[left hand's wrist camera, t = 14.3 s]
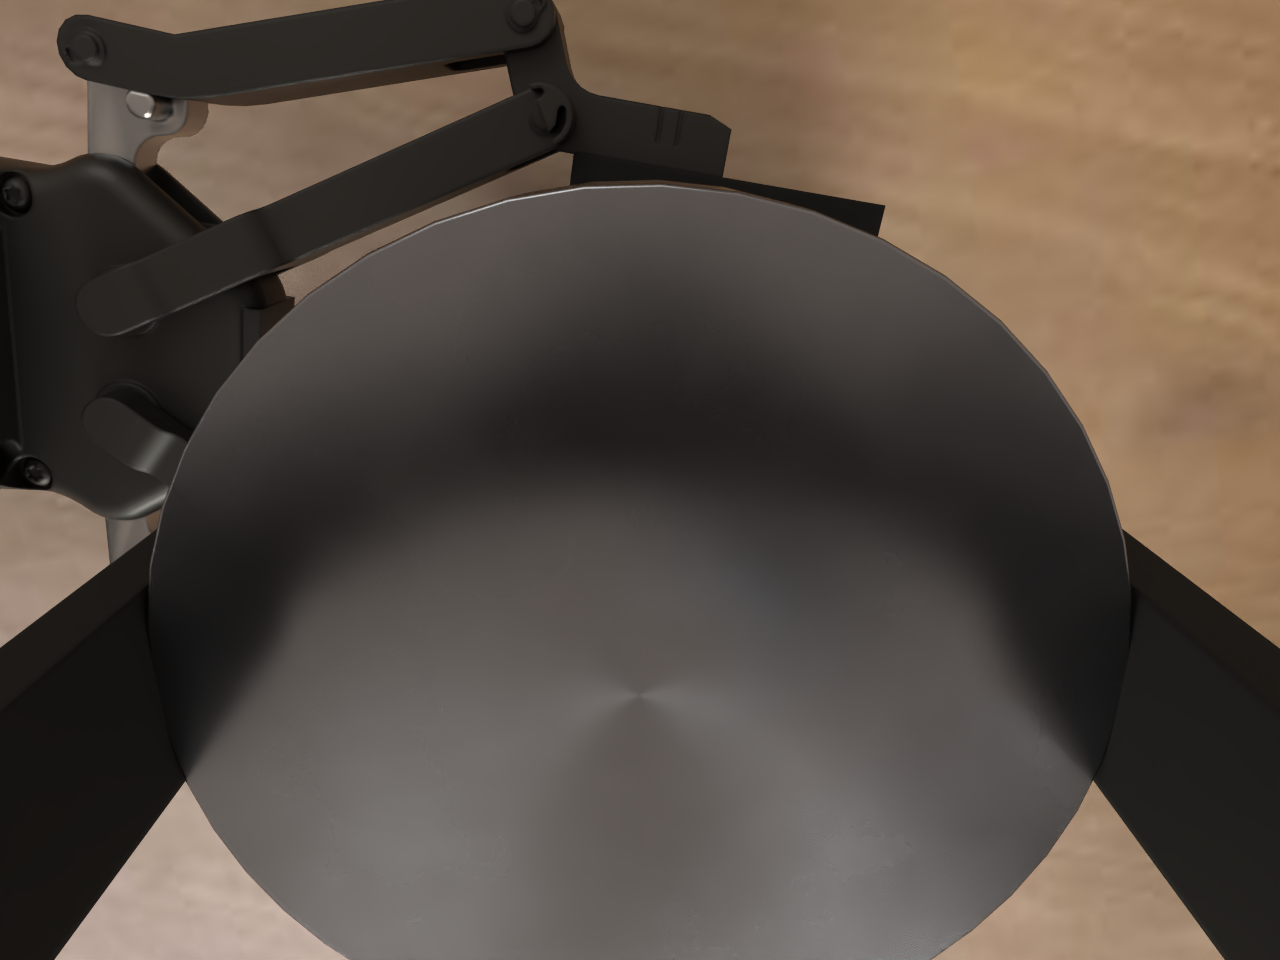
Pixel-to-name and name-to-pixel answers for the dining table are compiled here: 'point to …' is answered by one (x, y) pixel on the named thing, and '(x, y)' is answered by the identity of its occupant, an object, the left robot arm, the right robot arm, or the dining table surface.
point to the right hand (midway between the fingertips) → (809, 452)
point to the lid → (639, 592)
